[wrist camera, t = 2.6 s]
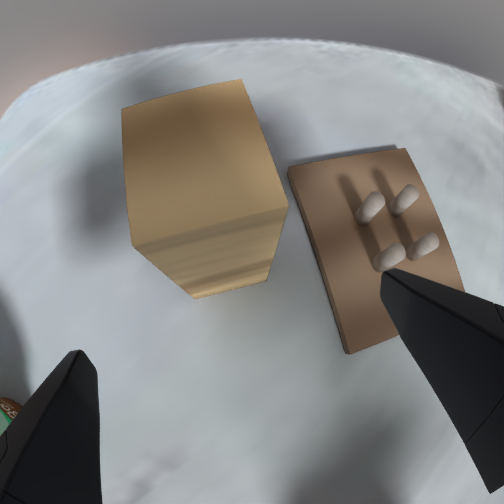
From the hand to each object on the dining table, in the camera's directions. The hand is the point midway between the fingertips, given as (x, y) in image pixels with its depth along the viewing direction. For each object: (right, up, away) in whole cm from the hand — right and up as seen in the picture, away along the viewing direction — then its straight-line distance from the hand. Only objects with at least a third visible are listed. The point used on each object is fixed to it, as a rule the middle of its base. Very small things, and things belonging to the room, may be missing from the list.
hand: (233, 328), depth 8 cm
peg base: (+10, +3, +14) cm, 17 cm away
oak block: (-2, +2, +13) cm, 14 cm away
